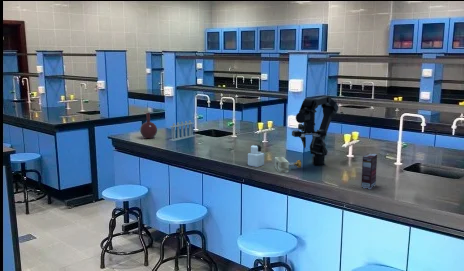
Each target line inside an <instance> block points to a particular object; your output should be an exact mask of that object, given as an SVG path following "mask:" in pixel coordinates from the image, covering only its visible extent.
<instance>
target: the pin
mask: <svg viewBox="0 0 464 271" xmlns="http://www.w3.org/2000/svg"><path fill="white" fill-rule="evenodd" d="M289 167H297V169H301V168H302V161H301V159H296V162H295V161H294V162H289Z"/></svg>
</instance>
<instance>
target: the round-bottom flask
mask: <svg viewBox="0 0 464 271" xmlns="http://www.w3.org/2000/svg"><path fill="white" fill-rule="evenodd" d="M145 114H146V121H145V122H144V123H142V124H141V126H140V129H139V130H140V135H141V136H142V137H143V138H145V139H152V138H154V137H155V136H156V135H158V134H157V133H158V127H157V125H156V124H155V123H154V122H152V121H151V115H150V114H151V113H150V112H146V113H145Z"/></svg>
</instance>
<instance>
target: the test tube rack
mask: <svg viewBox="0 0 464 271" xmlns="http://www.w3.org/2000/svg"><path fill="white" fill-rule="evenodd" d="M194 124H195V122H192V120H188V121H187V120H185V121H180V122H176V123H175V122H173V123H172V125H169V126H168V128H171V138H170V139H168V141H171V142H175V141H181V140H183V139H184V140H185V139H188V138H194V137H196V135H195V134H193V125H194ZM184 132H185V133H184ZM176 134H177V135H176ZM176 136H177V137H176Z"/></svg>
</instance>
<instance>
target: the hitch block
mask: <svg viewBox="0 0 464 271" xmlns="http://www.w3.org/2000/svg"><path fill="white" fill-rule="evenodd" d="M289 163H290V162H289V161H288V160H287V159H286V158H285V157H284V156H279V157H278V156H277V157H276V156H275V157H274V167H273V168H275V170H276V171H277V172H278V173H280V174H283V173H284V174H285V173H286V174H287V173H289V170H290V166H289Z"/></svg>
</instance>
